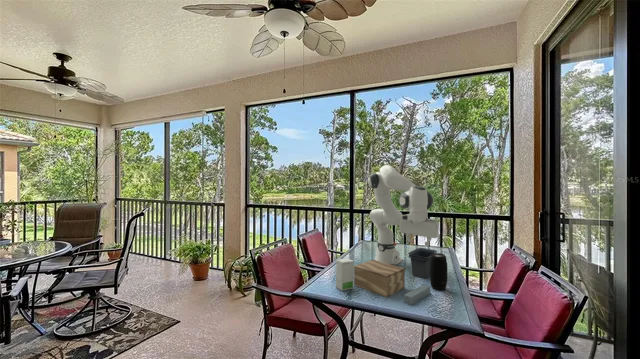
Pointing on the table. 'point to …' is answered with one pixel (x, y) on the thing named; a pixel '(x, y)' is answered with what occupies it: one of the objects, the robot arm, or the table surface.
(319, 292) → the table surface
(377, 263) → the lid
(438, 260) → the portable speaker
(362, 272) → the box
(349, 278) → the skincare box
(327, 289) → the table surface
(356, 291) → the table surface
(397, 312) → the table surface
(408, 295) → the grey rectangular bar
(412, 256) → the storage bin
